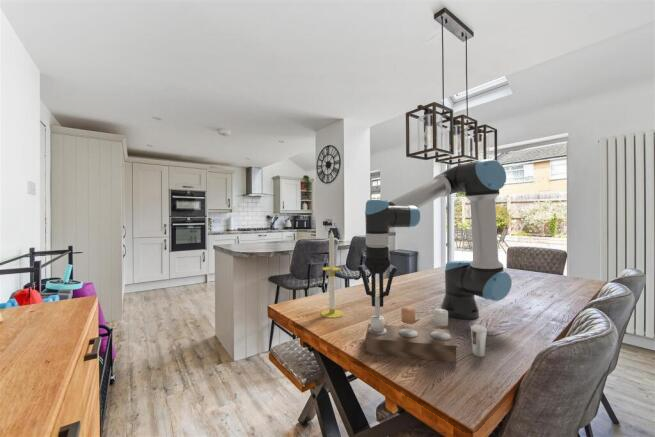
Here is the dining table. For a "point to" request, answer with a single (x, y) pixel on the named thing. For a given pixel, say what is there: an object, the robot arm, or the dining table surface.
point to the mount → (411, 343)
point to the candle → (331, 282)
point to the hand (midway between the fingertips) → (377, 315)
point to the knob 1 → (377, 324)
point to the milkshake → (478, 339)
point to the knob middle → (408, 315)
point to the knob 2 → (440, 317)
